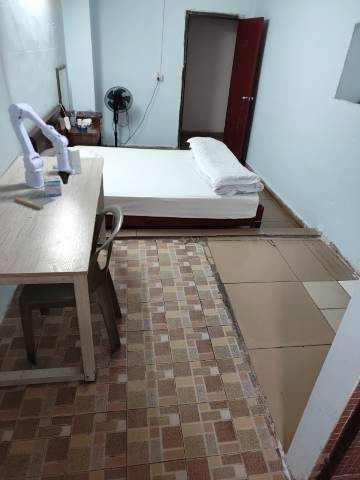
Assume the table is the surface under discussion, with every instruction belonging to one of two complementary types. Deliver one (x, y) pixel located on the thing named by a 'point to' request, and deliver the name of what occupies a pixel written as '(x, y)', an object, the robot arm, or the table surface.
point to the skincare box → (74, 159)
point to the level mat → (36, 201)
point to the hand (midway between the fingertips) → (65, 183)
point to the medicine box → (52, 187)
